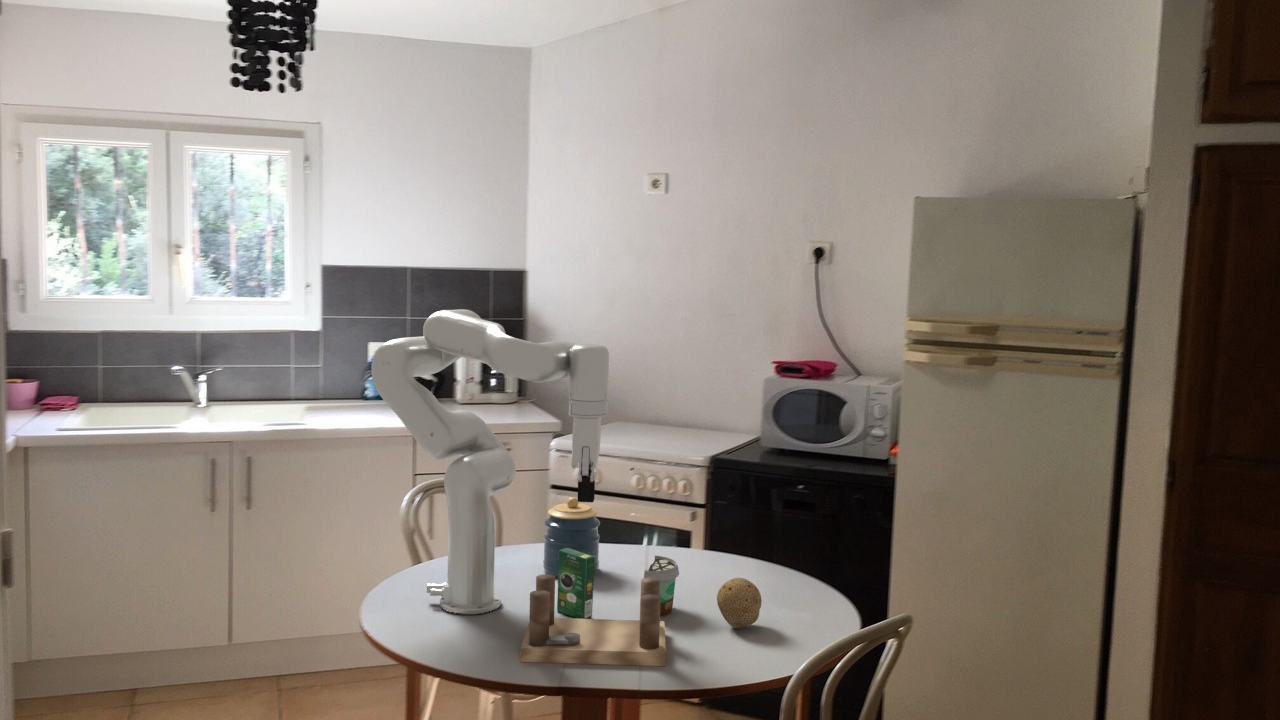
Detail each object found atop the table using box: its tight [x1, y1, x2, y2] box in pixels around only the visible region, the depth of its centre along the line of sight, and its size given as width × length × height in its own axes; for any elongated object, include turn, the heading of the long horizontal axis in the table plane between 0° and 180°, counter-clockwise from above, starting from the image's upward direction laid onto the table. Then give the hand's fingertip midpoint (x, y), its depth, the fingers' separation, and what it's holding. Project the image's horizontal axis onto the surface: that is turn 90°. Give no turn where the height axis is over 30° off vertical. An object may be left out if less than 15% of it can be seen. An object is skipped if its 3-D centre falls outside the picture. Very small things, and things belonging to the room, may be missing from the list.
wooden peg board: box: [519, 573, 667, 667], centre depth 186 cm, size 26×16×12 cm, turn 90°
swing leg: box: [528, 590, 580, 646], centre depth 181 cm, size 9×4×9 cm, turn 95°
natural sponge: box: [716, 577, 762, 630], centre depth 199 cm, size 9×9×10 cm
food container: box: [643, 555, 680, 618], centre depth 207 cm, size 12×6×10 cm, turn 168°
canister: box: [542, 496, 601, 579], centre depth 232 cm, size 13×13×18 cm
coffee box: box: [556, 548, 595, 619], centre depth 203 cm, size 8×3×13 cm, turn 49°
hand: (585, 501), depth 195 cm, fingers closed
